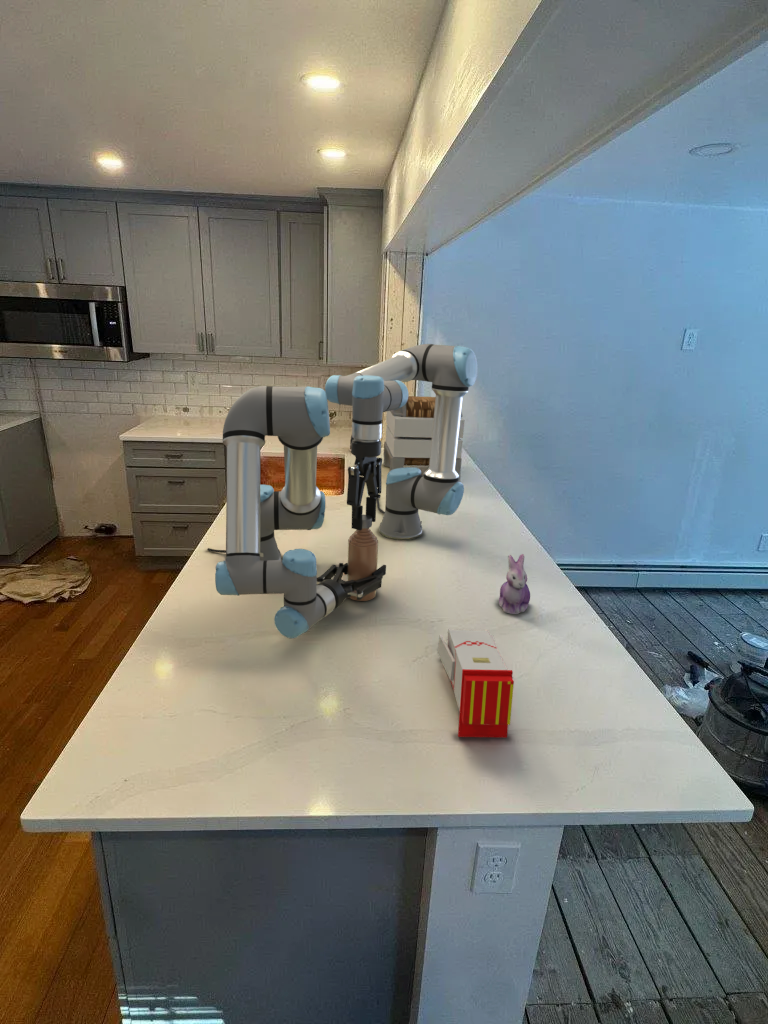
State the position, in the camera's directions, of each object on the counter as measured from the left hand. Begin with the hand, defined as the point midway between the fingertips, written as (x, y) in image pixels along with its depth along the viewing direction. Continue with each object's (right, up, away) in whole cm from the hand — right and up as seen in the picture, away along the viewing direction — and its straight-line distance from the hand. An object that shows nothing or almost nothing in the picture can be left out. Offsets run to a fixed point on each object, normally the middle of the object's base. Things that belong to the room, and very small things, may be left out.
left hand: (371, 565), depth 159 cm
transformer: (+21, +34, +116) cm, 123 cm away
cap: (-2, +13, -9) cm, 16 cm away
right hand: (-2, +12, -9) cm, 15 cm away
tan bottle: (-3, -8, -2) cm, 8 cm away
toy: (+22, -23, -40) cm, 51 cm away
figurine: (+39, -11, -5) cm, 41 cm away
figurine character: (-12, +49, +154) cm, 162 cm away
